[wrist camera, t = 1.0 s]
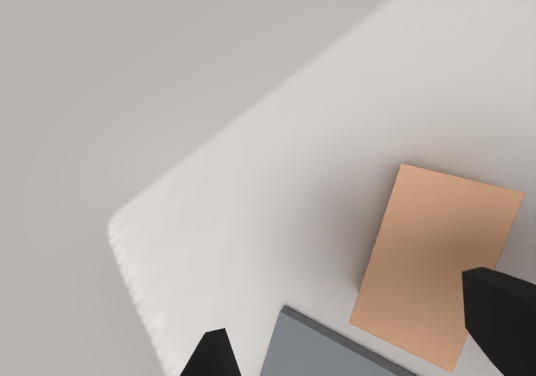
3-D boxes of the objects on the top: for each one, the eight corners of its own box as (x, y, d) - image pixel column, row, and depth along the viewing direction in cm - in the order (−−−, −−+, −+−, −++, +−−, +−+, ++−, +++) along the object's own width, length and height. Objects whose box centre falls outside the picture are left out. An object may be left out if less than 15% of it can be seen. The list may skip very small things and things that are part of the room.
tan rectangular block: (492, 188, 16) (525, 192, 12) (439, 327, 17) (452, 372, 13) (400, 166, 18) (401, 163, 14) (359, 292, 19) (348, 322, 15)
